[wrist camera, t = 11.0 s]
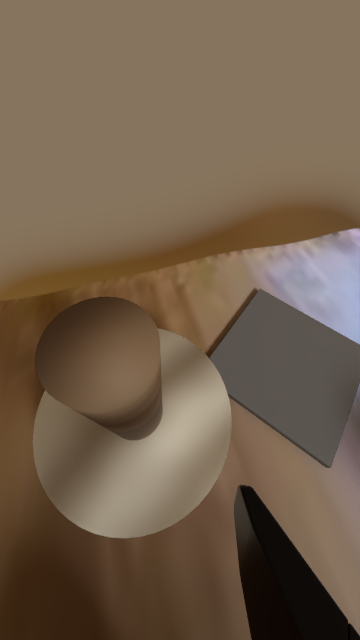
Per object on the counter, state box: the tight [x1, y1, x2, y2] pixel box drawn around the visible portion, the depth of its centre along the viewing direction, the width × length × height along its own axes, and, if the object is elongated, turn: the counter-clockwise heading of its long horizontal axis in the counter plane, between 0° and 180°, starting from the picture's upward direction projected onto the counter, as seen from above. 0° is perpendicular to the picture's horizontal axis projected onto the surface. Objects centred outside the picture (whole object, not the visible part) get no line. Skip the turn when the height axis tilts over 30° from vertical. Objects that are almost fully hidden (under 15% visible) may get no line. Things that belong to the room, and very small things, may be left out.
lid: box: [33, 297, 232, 538], centre depth 12 cm, size 13×13×12 cm
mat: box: [209, 289, 360, 468], centre depth 24 cm, size 13×13×1 cm
